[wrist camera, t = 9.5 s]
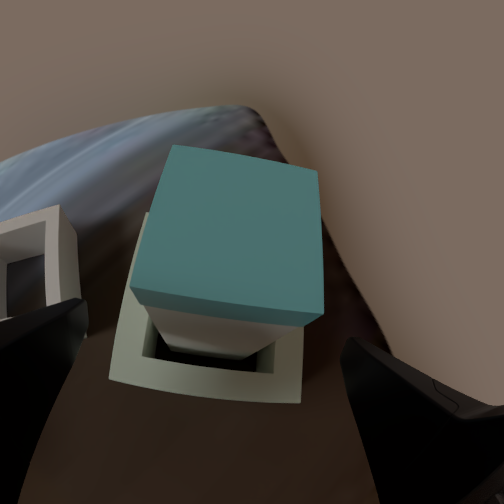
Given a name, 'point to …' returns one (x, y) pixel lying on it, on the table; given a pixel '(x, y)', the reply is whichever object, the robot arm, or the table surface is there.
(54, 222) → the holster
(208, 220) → the plug
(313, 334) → the table surface
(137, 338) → the socket block
